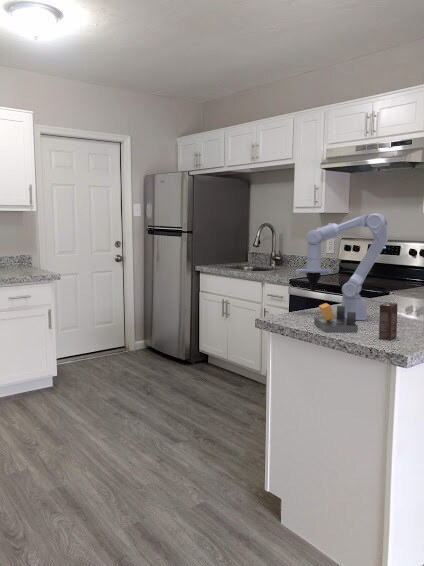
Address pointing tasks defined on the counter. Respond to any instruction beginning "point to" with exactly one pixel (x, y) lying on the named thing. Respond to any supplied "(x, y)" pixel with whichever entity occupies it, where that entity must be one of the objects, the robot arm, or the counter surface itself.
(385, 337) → the box
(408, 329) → the counter surface
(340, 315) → the post
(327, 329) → the grey flat block
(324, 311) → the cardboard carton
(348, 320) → the post
